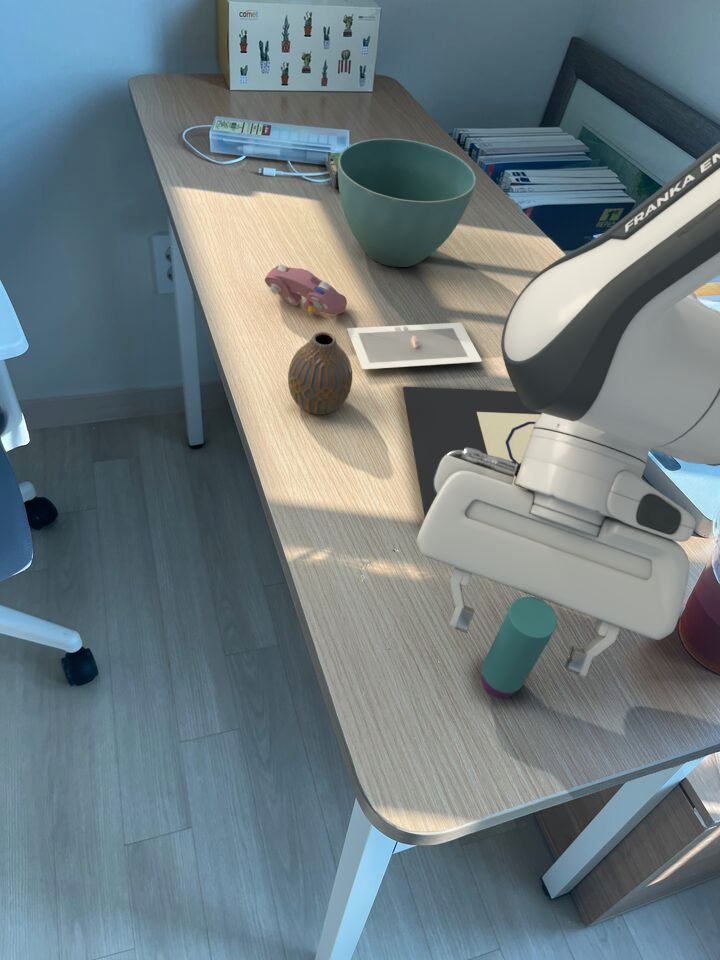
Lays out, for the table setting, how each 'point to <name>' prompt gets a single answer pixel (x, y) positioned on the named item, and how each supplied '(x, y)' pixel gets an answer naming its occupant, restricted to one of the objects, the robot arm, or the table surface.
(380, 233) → the plant pot
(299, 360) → the vase
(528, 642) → the cylinder
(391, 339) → the white framed picture
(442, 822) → the table surface
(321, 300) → the video game controller
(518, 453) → the desk mat
